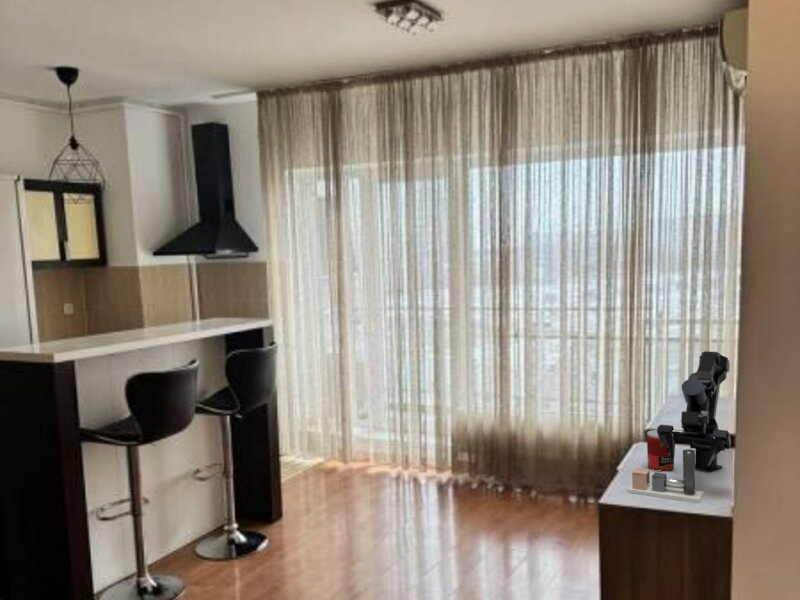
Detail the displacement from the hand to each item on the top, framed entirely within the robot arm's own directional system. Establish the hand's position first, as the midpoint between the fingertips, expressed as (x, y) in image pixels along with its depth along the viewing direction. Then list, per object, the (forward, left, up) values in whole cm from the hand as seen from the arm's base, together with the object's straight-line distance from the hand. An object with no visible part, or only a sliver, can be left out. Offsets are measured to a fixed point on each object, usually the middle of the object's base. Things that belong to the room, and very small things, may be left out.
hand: (689, 463), depth 194 cm
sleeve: (+5, -7, -8) cm, 11 cm away
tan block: (+7, -11, -8) cm, 15 cm away
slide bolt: (+3, -3, -8) cm, 9 cm away
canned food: (-14, -20, -9) cm, 26 cm away
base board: (+4, -5, -9) cm, 11 cm away
